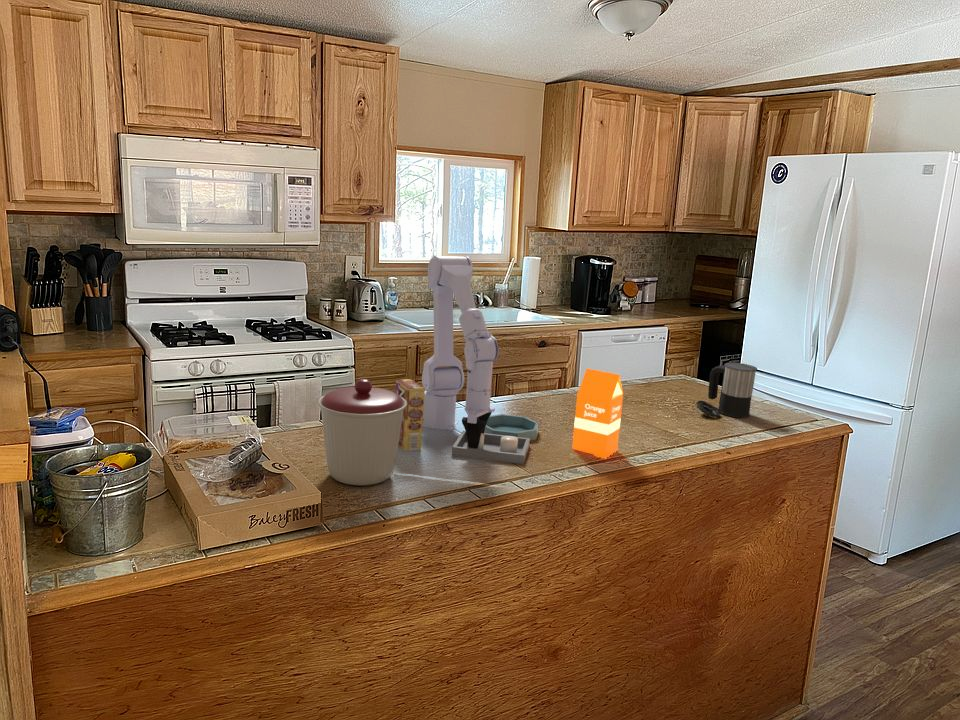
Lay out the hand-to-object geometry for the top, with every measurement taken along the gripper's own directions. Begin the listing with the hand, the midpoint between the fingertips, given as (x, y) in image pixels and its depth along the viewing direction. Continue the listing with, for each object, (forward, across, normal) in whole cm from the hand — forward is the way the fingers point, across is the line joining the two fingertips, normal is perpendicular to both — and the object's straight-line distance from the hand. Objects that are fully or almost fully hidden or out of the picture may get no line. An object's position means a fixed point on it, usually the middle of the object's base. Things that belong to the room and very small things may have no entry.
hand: (475, 443), depth 174 cm
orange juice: (+2, +10, -28) cm, 30 cm away
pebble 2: (+1, 0, -8) cm, 8 cm away
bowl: (+2, +15, -6) cm, 16 cm away
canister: (+2, -24, +20) cm, 31 cm away
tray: (+2, 0, -4) cm, 4 cm away
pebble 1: (+1, 0, 0) cm, 1 cm away
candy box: (+2, -2, +16) cm, 16 cm away
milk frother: (+2, +57, -65) cm, 86 cm away
